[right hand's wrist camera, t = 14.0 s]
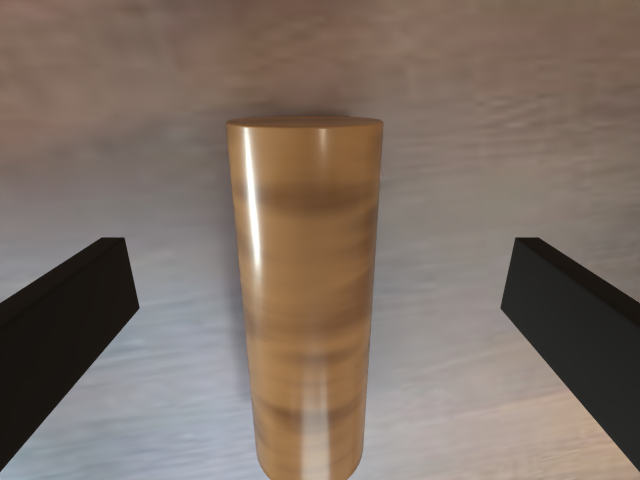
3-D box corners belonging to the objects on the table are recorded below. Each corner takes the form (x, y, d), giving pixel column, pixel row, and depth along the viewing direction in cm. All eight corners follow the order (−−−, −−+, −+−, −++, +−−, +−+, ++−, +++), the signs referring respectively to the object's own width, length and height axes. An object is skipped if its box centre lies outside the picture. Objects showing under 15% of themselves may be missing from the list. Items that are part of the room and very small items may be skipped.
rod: (240, 115, 23) (207, 127, 15) (370, 115, 23) (400, 126, 16) (262, 399, 32) (248, 496, 24) (356, 397, 32) (371, 493, 24)
